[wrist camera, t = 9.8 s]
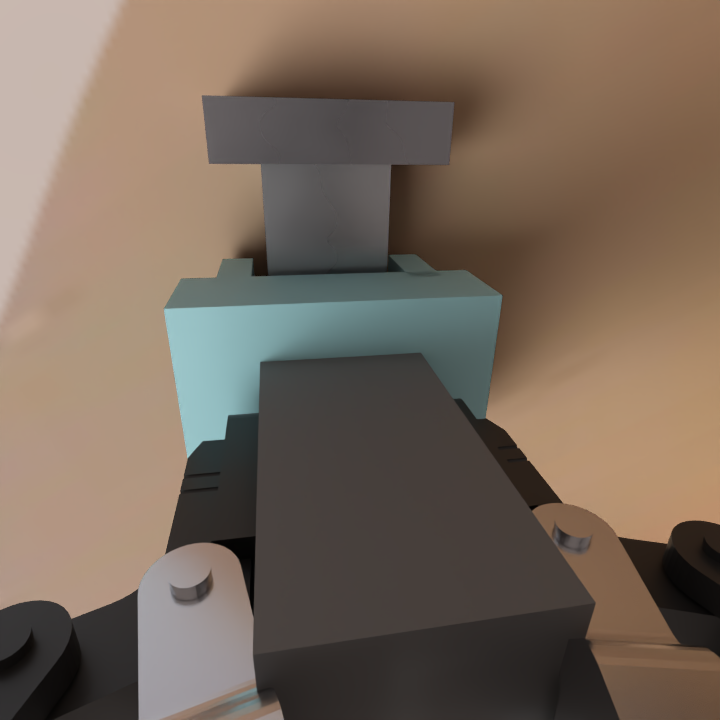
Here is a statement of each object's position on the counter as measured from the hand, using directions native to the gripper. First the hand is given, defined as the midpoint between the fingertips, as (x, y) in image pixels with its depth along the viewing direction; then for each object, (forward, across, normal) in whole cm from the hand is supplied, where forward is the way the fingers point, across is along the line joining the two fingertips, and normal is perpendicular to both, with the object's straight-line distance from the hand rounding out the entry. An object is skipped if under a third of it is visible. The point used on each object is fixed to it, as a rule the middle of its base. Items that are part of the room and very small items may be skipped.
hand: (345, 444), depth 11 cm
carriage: (+5, 0, 0) cm, 5 cm away
